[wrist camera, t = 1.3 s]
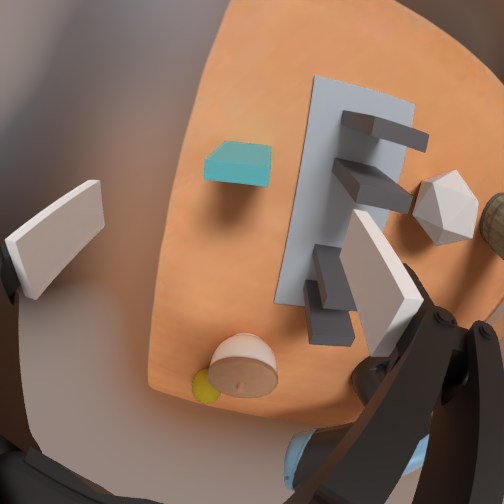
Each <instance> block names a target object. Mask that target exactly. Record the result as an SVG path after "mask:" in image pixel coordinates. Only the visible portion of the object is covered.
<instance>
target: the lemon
mask: <svg viewBox="0 0 504 504" xmlns="http://www.w3.org/2000/svg"><path fill="white" fill-rule="evenodd" d="M207 373H208V369H203V370H201V371H199V372H198V373H197V374H196V375H195V377H194V379H193V382H192V392H193V395H194V397H195V398H196V399H197V400H198V401H199V402H201V403H202V404H208V403H212V402H214V401H216V400H217V399H218V397H219V396H220V393H221V392H219V391H217V390H216V389H215V388H213V387H212V386H211V385H210V383H209V382H208V379H207Z"/></svg>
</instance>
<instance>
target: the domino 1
mask: <svg viewBox="0 0 504 504" xmlns="http://www.w3.org/2000/svg"><path fill="white" fill-rule="evenodd" d="M341 250H342V248H340V247H333V246H326V245H319V244H315V245H314V249H313V253H312V257H313V261H314V266H315V271H316V276H317V281H318V286H319V291H320V296H321V302H322V307H323V308H325V309H336V310H347V311H357V308H356V305H355V301H354V298H353V295H352V292H351V289H350V286H349V283H348V280H347V277H346V274H345V271H344V268H343V265H342V263H341V260H340V257H339V256H340V253H341Z"/></svg>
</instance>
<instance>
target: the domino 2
mask: <svg viewBox="0 0 504 504" xmlns="http://www.w3.org/2000/svg"><path fill="white" fill-rule="evenodd" d="M303 293H304V301H305V310H306V319H307V328H308V338H309V344H313V345H328V346H347V347H351V345H352V343H353V341H354V339H355V334H354V330H353V327H352V323H351V319H350V315H349V312H348V311H347V310H336V309H325V308H323V307H322V302H321V296H320V291H319V286H318V281H315V280H307V279H306V280H305V283H304V287H303Z"/></svg>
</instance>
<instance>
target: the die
mask: <svg viewBox="0 0 504 504" xmlns="http://www.w3.org/2000/svg"><path fill="white" fill-rule="evenodd" d="M478 204H479V202H478V200H477V199H476V197H475V196H474V194H473V193H472V191H471V190H470V188H469V187H468V186H467V184H466V183H465V181H464V180H463V178H462V177H461V176H460V174H459V173H458V172H457V170H453V171H450V172H447V173H444V174H441V175H438V176H435V177H432V178H429V179H425V180H422V182H421V186H420V189H419V193H418V197H417V200H416V204H415V207H414V210H413V213H412V215H413V216H414V217H415V219H416V220H417V221H418V223H419V224H420V225H421V226H422V228H423V229H424V230H425V232H426V233H427V234H428V236H429V237H430V238H431V240H432V241H433V242H434V244H435V245H436V246H439V245H444V244H449V243H453V242H458V241H463V240H468V239H472V238H473V233H474V228H475V223H476V217H477V211H478Z"/></svg>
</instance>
